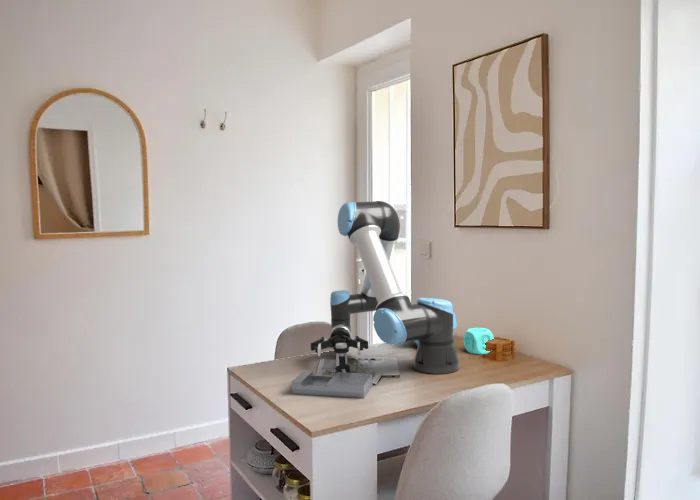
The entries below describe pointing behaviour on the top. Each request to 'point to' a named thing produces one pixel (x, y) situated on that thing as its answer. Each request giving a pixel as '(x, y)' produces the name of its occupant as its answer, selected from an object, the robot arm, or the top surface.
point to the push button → (341, 358)
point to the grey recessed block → (333, 384)
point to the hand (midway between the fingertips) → (338, 351)
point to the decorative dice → (477, 340)
